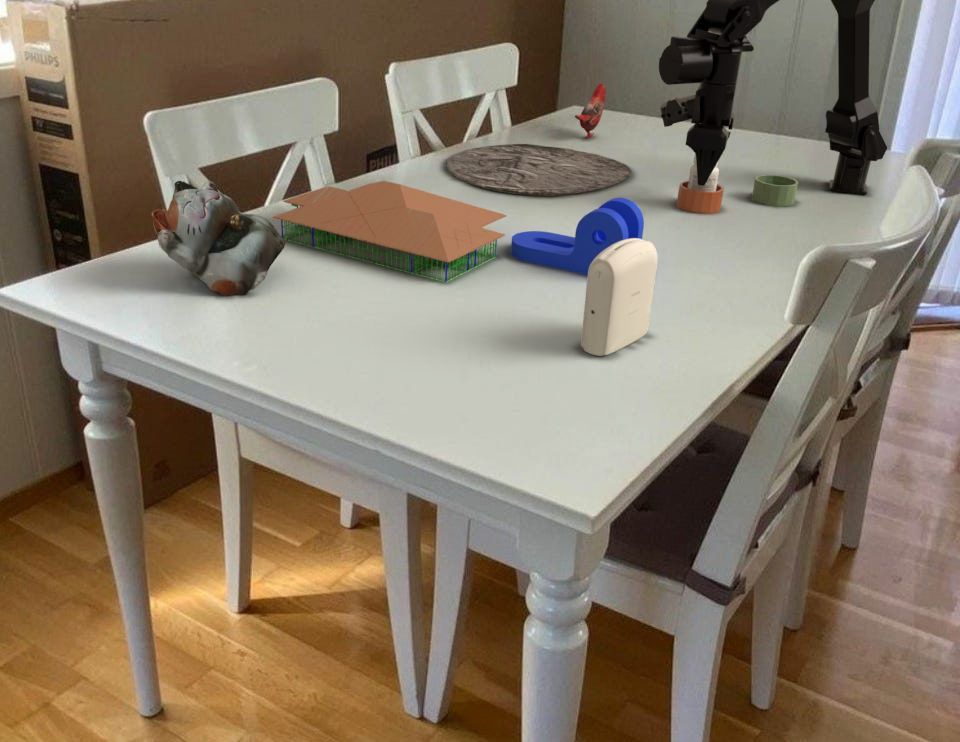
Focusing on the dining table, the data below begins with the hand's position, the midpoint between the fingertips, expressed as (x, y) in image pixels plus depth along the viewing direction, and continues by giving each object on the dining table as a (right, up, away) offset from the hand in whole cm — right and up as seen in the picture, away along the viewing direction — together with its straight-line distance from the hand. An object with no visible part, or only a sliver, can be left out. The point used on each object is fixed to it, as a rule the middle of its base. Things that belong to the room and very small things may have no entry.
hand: (702, 180), depth 171 cm
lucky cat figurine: (-71, -25, -37) cm, 84 cm away
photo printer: (-21, -35, -49) cm, 63 cm away
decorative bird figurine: (-15, +21, +41) cm, 49 cm away
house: (-50, -15, -19) cm, 55 cm away
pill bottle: (0, -4, +2) cm, 4 cm away
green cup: (+14, -1, +8) cm, 16 cm away
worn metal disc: (-27, +7, +18) cm, 33 cm away
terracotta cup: (0, -4, +2) cm, 4 cm away
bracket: (-24, -19, -24) cm, 39 cm away
